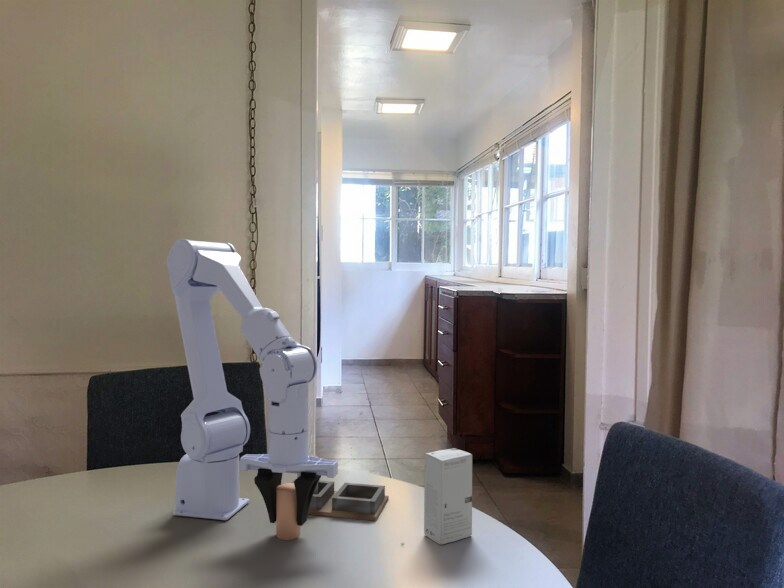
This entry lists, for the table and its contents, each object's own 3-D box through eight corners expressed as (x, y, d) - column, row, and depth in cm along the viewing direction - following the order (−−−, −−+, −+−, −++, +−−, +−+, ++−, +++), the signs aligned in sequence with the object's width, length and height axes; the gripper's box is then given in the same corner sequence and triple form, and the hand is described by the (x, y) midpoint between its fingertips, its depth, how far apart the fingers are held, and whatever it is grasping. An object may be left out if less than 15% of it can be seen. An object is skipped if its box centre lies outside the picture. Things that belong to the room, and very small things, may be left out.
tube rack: (274, 511, 91) (274, 464, 91) (295, 491, 100) (295, 448, 99) (376, 520, 87) (376, 472, 87) (388, 499, 96) (388, 455, 96)
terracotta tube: (272, 538, 81) (272, 490, 81) (281, 528, 84) (282, 482, 84) (295, 541, 80) (295, 492, 80) (303, 530, 84) (303, 484, 84)
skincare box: (441, 546, 79) (441, 461, 79) (422, 534, 83) (422, 452, 82) (474, 535, 82) (474, 453, 82) (454, 524, 86) (454, 446, 86)
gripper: (229, 433, 80) (229, 528, 80) (326, 439, 77) (326, 538, 77) (252, 421, 87) (252, 508, 87) (342, 427, 84) (341, 517, 84)
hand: (288, 521), depth 82 cm, fingers open, 4 cm apart
